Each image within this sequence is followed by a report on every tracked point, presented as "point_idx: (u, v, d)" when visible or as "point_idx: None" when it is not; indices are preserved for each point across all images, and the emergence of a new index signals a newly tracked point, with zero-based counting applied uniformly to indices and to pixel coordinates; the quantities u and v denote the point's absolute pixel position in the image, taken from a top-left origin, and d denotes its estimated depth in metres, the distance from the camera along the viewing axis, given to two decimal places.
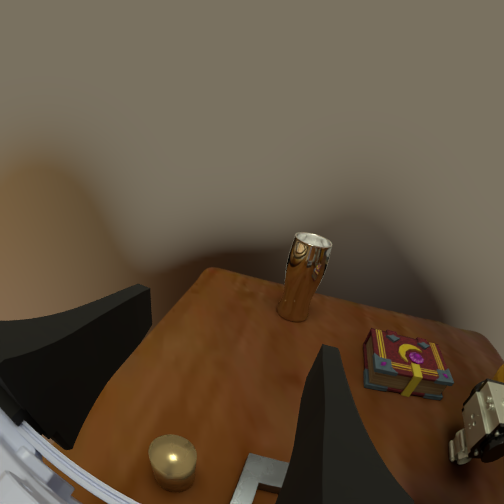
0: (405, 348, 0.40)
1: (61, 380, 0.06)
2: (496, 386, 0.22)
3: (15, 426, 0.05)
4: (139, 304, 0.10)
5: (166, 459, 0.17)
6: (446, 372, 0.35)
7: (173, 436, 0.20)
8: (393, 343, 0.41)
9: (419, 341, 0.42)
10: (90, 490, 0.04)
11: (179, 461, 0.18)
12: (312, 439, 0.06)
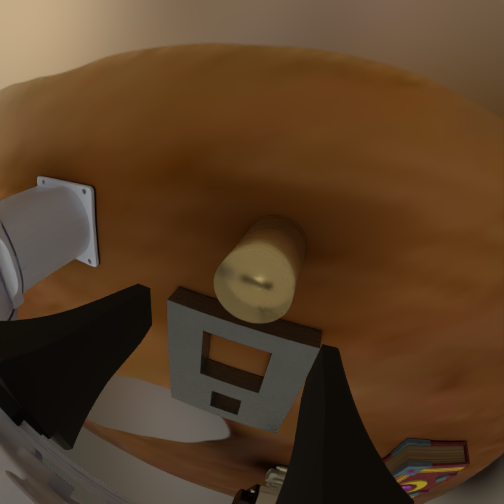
0: (420, 485, 0.22)
1: (61, 380, 0.06)
2: None
3: (15, 426, 0.05)
4: (139, 304, 0.10)
5: (237, 282, 0.14)
6: None
7: (288, 289, 0.13)
8: (435, 477, 0.21)
9: (421, 492, 0.23)
10: (90, 490, 0.04)
11: (241, 301, 0.14)
12: (312, 439, 0.06)
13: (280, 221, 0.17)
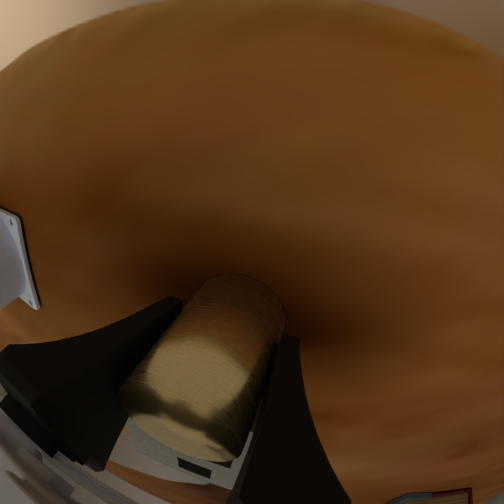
0: None
1: (97, 405, 0.06)
2: None
3: (15, 426, 0.05)
4: (172, 318, 0.10)
5: (151, 415, 0.07)
6: None
7: (232, 441, 0.06)
8: None
9: None
10: (90, 490, 0.04)
11: (164, 434, 0.07)
12: (259, 426, 0.07)
13: (239, 290, 0.10)
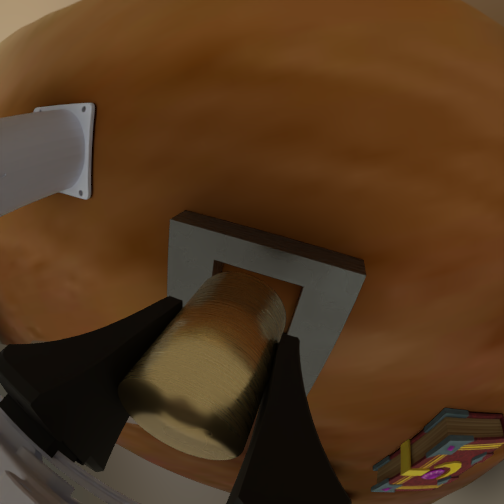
0: (454, 468, 0.18)
1: (97, 405, 0.06)
2: None
3: (15, 426, 0.05)
4: (172, 318, 0.10)
5: (151, 411, 0.07)
6: (390, 490, 0.22)
7: (234, 438, 0.06)
8: (471, 457, 0.17)
9: (451, 478, 0.19)
10: (90, 490, 0.04)
11: (164, 431, 0.07)
12: (259, 426, 0.07)
13: (240, 288, 0.10)
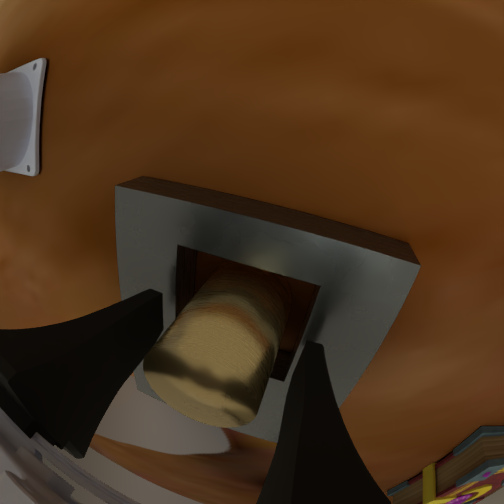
0: (483, 491, 0.11)
1: (74, 390, 0.06)
2: None
3: (15, 426, 0.05)
4: (152, 309, 0.10)
5: (174, 380, 0.08)
6: None
7: (250, 400, 0.07)
8: (503, 478, 0.10)
9: (476, 500, 0.12)
10: (90, 490, 0.04)
11: (184, 400, 0.09)
12: (291, 434, 0.07)
13: (252, 271, 0.11)
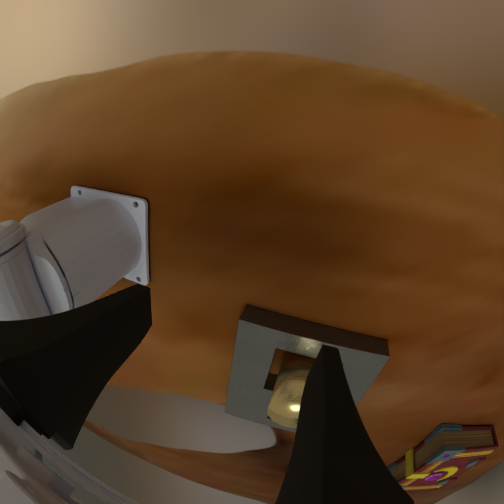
0: (451, 471, 0.21)
1: (61, 380, 0.06)
2: None
3: (15, 426, 0.05)
4: (139, 304, 0.10)
5: (283, 411, 0.18)
6: None
7: None
8: (465, 462, 0.20)
9: (450, 480, 0.22)
10: (90, 490, 0.04)
11: (285, 419, 0.19)
12: (312, 439, 0.06)
13: None
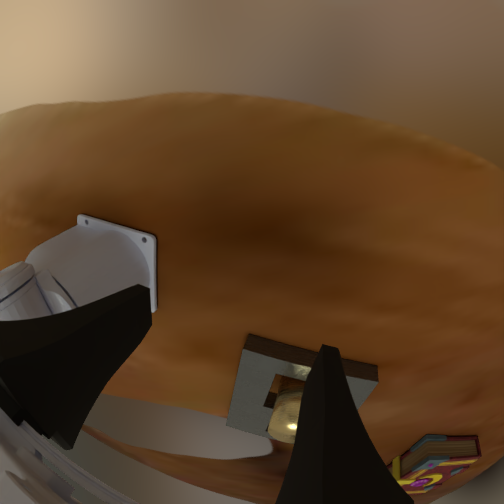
0: (436, 478, 0.23)
1: (61, 380, 0.06)
2: None
3: (15, 426, 0.05)
4: (139, 304, 0.10)
5: (282, 429, 0.20)
6: None
7: None
8: (450, 470, 0.22)
9: (435, 485, 0.24)
10: (90, 490, 0.04)
11: (283, 435, 0.20)
12: (312, 439, 0.06)
13: None
